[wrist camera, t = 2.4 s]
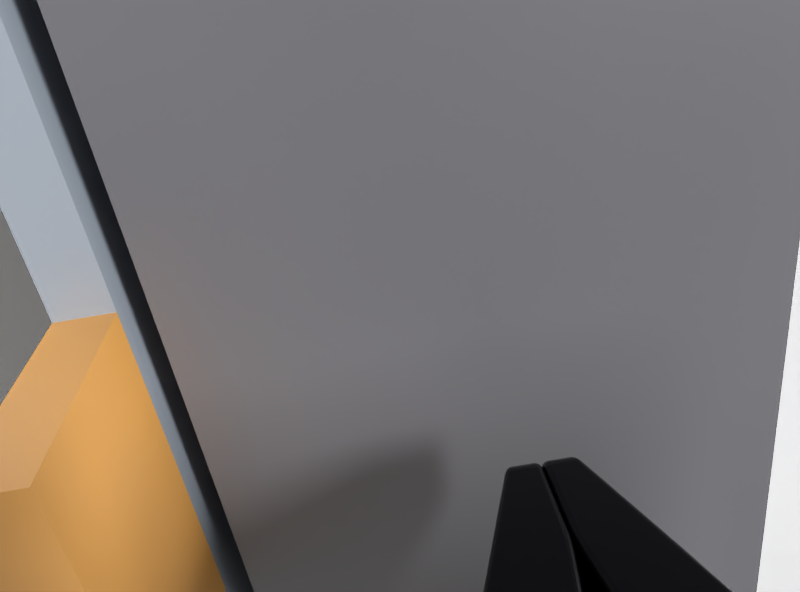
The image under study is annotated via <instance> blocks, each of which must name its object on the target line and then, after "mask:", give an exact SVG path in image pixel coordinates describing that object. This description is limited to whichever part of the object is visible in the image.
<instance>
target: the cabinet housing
mask: <svg viewBox="0 0 800 592" xmlns="http://www.w3.org/2000/svg"><path fill="white" fill-rule="evenodd" d="M37 2H38V5H39V8H40V10H41V13H42V16H43V19H44V21H45V24H46V27H47V29H48V32H49V35H50V38H51V40H52V43H53V46H54V49H55V51H56V54H57V57H58V59H59V62H60V65H61V68H62V70H63V73H64V76H65V78H66V81H67V84H68V87H69V89H70V92H71V95H72V98H73V100H74V103H75V106H76V108H77V111H78V114H79V117H80V119H81V122H82V125H83V127H84V130H85V133H86V136H87V138H88V141H89V144H90V147H91V149H92V152H93V155H94V157H95V160H96V163H97V166H98V168H99V171H100V174H101V176H102V179H103V182H104V185H105V187H106V190H107V193H108V196H109V198H110V201H111V204H112V206H113V209H114V212H115V215H116V217H117V220H118V223H119V226H120V228H121V231H122V234H123V236H124V239H125V242H126V245H127V247H128V250H129V253H130V255H131V258H132V261H133V264H134V266H135V269H136V272H137V275H138V277H139V280H140V283H141V285H142V288H143V291H144V294H145V296H146V299H147V302H148V304H149V307H150V310H151V313H152V315H153V318H154V321H155V324H156V326H157V329H158V332H159V334H160V337H161V340H162V343H163V345H164V348H165V351H166V353H167V356H168V359H169V362H170V364H171V367H172V370H173V373H174V375H175V378H176V381H177V383H178V386H179V389H180V392H181V394H182V397H183V400H184V403H185V405H186V408H187V411H188V413H189V416H190V419H191V422H192V424H193V427H194V430H195V432H196V435H197V438H198V441H199V443H200V446H201V449H202V452H203V454H204V457H205V460H206V462H207V465H208V468H209V471H210V473H211V476H212V479H213V481H214V484H215V487H216V490H217V492H218V495H219V498H220V501H221V503H222V506H223V509H224V511H225V514H226V517H227V520H228V522H229V525H230V528H231V530H232V533H233V536H234V539H235V541H236V544H237V547H238V550H239V552H240V555H241V558H242V560H243V563H244V566H245V569H246V571H247V574H248V577H249V579H250V582H251V585H252V588H253V590H254V592H483V591H484V585H485V580H486V575H487V569H488V564H489V558H490V553H491V547H492V542H493V537H494V531H495V526H496V520H497V515H498V509H499V504H500V499H501V493H502V488H503V482H504V477H505V472H506V470H507V469H508V468H509V467H513V466H519V465H525V464H531V463H538V464H540V465H541V467H542V465H543V463H544V462H546V461H549V460H555V459H562V458H568V457H575V458H578V459H579V460H581V461H582V462H583V463H584V464H585V465H587V466H588V467H589V468H590V469H591V470H592V471H594V472H595V473H596V474H597V475H598V476H599V477H601V478H602V479H603V480H604V481H605V482H606V483H608V484H609V485H610V486H611V487H612V488H613V489H615V490H616V491H617V492H618V493H619V494H620V495H622V496H623V497H624V498H625V499H626V500H627V501H629V502H630V503H631V504H632V505H633V506H634V507H636V508H637V509H638V510H639V511H640V512H641V513H643V514H644V515H645V516H646V517H647V518H648V519H650V520H651V521H652V522H653V523H654V524H655V525H657V526H658V527H659V528H660V529H661V530H662V531H664V532H665V533H666V534H667V535H668V536H669V537H671V538H672V539H673V540H674V541H675V542H676V543H678V544H679V545H680V546H681V547H682V548H683V549H685V550H686V551H687V552H688V553H689V554H690V555H692V556H693V557H694V558H695V559H696V560H697V561H699V562H700V563H701V564H702V565H703V566H704V567H706V568H707V569H708V570H709V571H710V572H711V573H713V574H714V575H715V576H716V577H717V578H718V579H720V580H721V581H722V582H723V583H724V584H725V585H727V586H728V587H729V588H730V589H731V590H732V591H734V592H756V590H757V582H758V574H759V566H760V557H761V549H762V541H763V533H764V525H765V517H766V509H767V500H768V492H769V484H770V476H771V468H772V460H773V451H774V443H775V435H776V427H777V419H778V411H779V403H780V394H781V386H782V378H783V370H784V362H785V354H786V346H787V337H788V329H789V321H790V313H791V305H792V297H793V288H794V280H795V272H796V264H797V256H798V248H799V240H800V0H37Z"/></svg>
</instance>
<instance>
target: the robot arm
mask: <svg viewBox="0 0 800 592" xmlns="http://www.w3.org/2000/svg"><path fill="white" fill-rule="evenodd" d="M483 592H734V591H732V590H731V589H730V588H729V587H728V586H727V585H725V584H724V583H723V582H722V581H721V580H720V579H718V578H717V577H716V576H715V575H714V574H713V573H711V572H710V571H709V570H708V569H707V568H706V567H704V566H703V565H702V564H701V563H700V562H699V561H697V560H696V559H695V558H694V557H693V556H692V555H690V554H689V553H688V552H687V551H686V550H685V549H683V548H682V547H681V546H680V545H679V544H678V543H676V542H675V541H674V540H673V539H672V538H671V537H669V536H668V535H667V534H666V533H665V532H664V531H662V530H661V529H660V528H659V527H658V526H657V525H655V524H654V523H653V522H652V521H651V520H650V519H648V518H647V517H646V516H645V515H644V514H643V513H641V512H640V511H639V510H638V509H637V508H636V507H634V506H633V505H632V504H631V503H630V502H629V501H627V500H626V499H625V498H624V497H623V496H622V495H620V494H619V493H618V492H617V491H616V490H615V489H613V488H612V487H611V486H610V485H609V484H608V483H606V482H605V481H604V480H603V479H602V478H601V477H599V476H598V475H597V474H596V473H595V472H594V471H592V470H591V469H590V468H589V467H588V466H587V465H585V464H584V463H583V462H582V461H581V460H579V459H578V458H575V457H568V458H562V459H555V460H549V461H546V462H544V463H543V465H542V467H541V465H540V464H538V463H531V464H525V465H519V466H513V467H509V468H508V469H507V470H506V472H505V477H504V482H503V488H502V493H501V499H500V504H499V509H498V515H497V520H496V526H495V531H494V537H493V542H492V547H491V553H490V558H489V564H488V569H487V575H486V580H485V585H484V591H483Z"/></svg>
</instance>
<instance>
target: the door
mask: <svg viewBox="0 0 800 592" xmlns="http://www.w3.org/2000/svg"><path fill="white" fill-rule="evenodd" d="M0 208H1V211H2V213H3V215H4V217H5V220H6V222H7V224H8V226H9V228H10V231H11V233H12V235H13V237H14V240H15V242H16V244H17V246H18V249H19V251H20V253H21V255H22V258H23V260H24V262H25V264H26V266H27V269H28V271H29V273H30V275H31V278H32V280H33V282H34V284H35V287H36V289H37V291H38V293H39V296H40V298H41V300H42V302H43V304H44V307H45V309H46V311H47V313H48V316H49V318H50V320H51V322H52V324H51V325H50V327H49V329H48V330H47V332H46V333H45V335H44V336H43V338H42V340H41V341H40V343H39V344H38V346H37V348H36V349H35V351H34V352H33V354H32V356H31V357H30V359H29V360H28V362H27V364H26V365H25V367H24V368H23V370H22V372H21V373H20V375H19V376H18V378H17V379H16V381H15V383H14V384H13V386H12V387H11V389H10V391H9V392H8V394H7V395H6V397H5V399H4V400H3V402H2V403H1V405H0V592H254V590H253V588H252V585H251V582H250V579H249V577H248V574H247V571H246V569H245V566H244V563H243V560H242V558H241V555H240V552H239V550H238V547H237V544H236V541H235V539H234V536H233V533H232V530H231V528H230V525H229V522H228V520H227V517H226V514H225V511H224V509H223V506H222V503H221V501H220V498H219V495H218V492H217V490H216V487H215V484H214V481H213V479H212V476H211V473H210V471H209V468H208V465H207V462H206V460H205V457H204V454H203V452H202V449H201V446H200V443H199V441H198V438H197V435H196V432H195V430H194V427H193V424H192V422H191V419H190V416H189V413H188V411H187V408H186V405H185V403H184V400H183V397H182V394H181V392H180V389H179V386H178V383H177V381H176V378H175V375H174V373H173V370H172V367H171V364H170V362H169V359H168V356H167V353H166V351H165V348H164V345H163V343H162V340H161V337H160V334H159V332H158V329H157V326H156V324H155V321H154V318H153V315H152V313H151V310H150V307H149V304H148V302H147V299H146V296H145V294H144V291H143V288H142V285H141V283H140V280H139V277H138V275H137V272H136V269H135V266H134V264H133V261H132V258H131V255H130V253H129V250H128V247H127V245H126V242H125V239H124V236H123V234H122V231H121V228H120V226H119V223H118V220H117V217H116V215H115V212H114V209H113V206H112V204H111V201H110V198H109V196H108V193H107V190H106V187H105V185H104V182H103V179H102V176H101V174H100V171H99V168H98V166H97V163H96V160H95V157H94V155H93V152H92V149H91V147H90V144H89V141H88V138H87V136H86V133H85V130H84V127H83V125H82V122H81V119H80V117H79V114H78V111H77V108H76V106H75V103H74V100H73V98H72V95H71V92H70V89H69V87H68V84H67V81H66V78H65V76H64V73H63V70H62V68H61V65H60V62H59V59H58V57H57V54H56V51H55V49H54V46H53V43H52V40H51V38H50V35H49V32H48V29H47V27H46V24H45V21H44V19H43V16H42V13H41V10H40V8H39V5H38V2H37V0H0Z"/></svg>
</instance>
